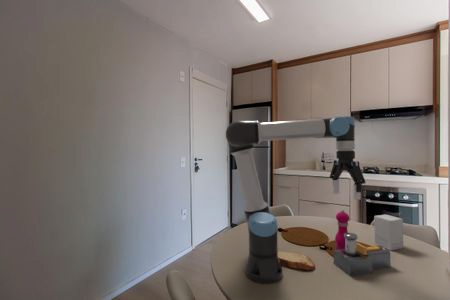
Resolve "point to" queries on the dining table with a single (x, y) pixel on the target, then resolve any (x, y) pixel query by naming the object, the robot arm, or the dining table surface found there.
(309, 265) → the bread slice
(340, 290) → the dining table surface
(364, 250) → the lock pin
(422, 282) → the dining table surface
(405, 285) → the dining table surface
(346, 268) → the dock
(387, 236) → the supplement box
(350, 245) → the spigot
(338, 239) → the pepper mill
